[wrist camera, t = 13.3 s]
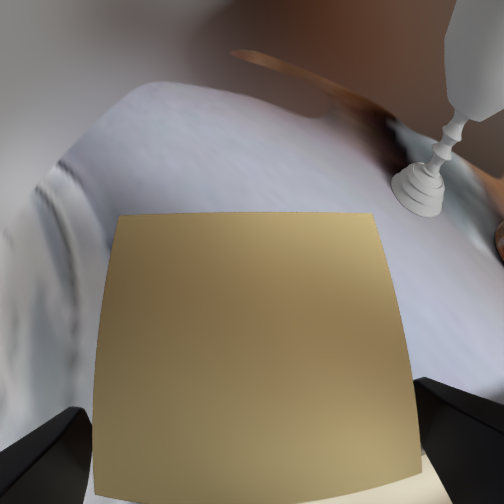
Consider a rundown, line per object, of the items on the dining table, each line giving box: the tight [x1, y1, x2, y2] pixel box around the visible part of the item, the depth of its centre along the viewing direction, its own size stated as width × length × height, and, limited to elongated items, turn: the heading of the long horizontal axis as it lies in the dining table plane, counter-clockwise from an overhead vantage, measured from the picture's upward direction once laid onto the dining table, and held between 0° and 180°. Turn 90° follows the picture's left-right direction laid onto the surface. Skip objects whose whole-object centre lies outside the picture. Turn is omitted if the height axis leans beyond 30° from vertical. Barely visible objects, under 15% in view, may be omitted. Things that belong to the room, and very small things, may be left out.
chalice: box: [391, 0, 504, 217], centre depth 16 cm, size 7×7×18 cm
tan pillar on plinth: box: [92, 212, 422, 504], centre depth 9 cm, size 5×6×13 cm
